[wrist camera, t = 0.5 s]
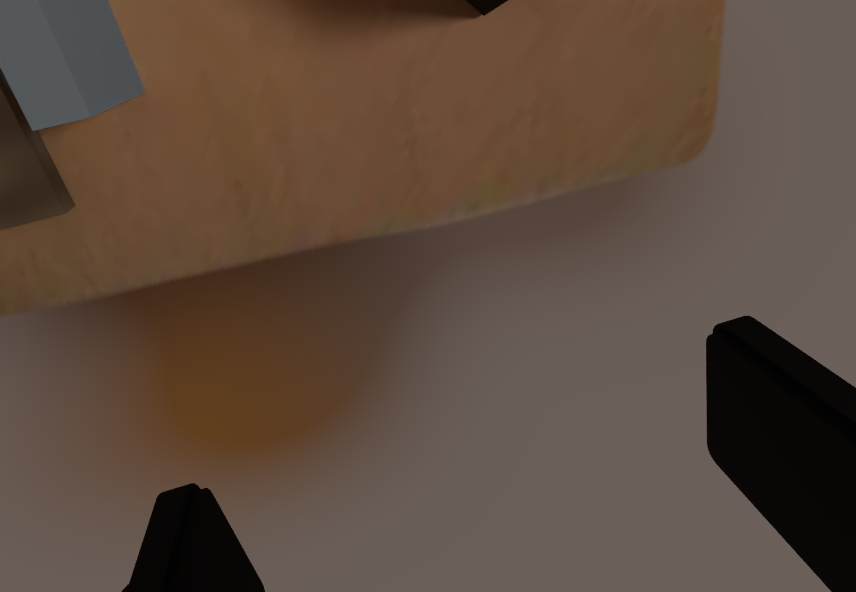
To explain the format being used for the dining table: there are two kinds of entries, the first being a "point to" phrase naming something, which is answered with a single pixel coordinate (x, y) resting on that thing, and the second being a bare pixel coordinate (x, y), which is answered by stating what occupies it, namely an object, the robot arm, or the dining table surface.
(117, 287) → the dining table surface
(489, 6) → the phone stand
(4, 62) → the blue-grey rectangular block
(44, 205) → the wooden peg rack
